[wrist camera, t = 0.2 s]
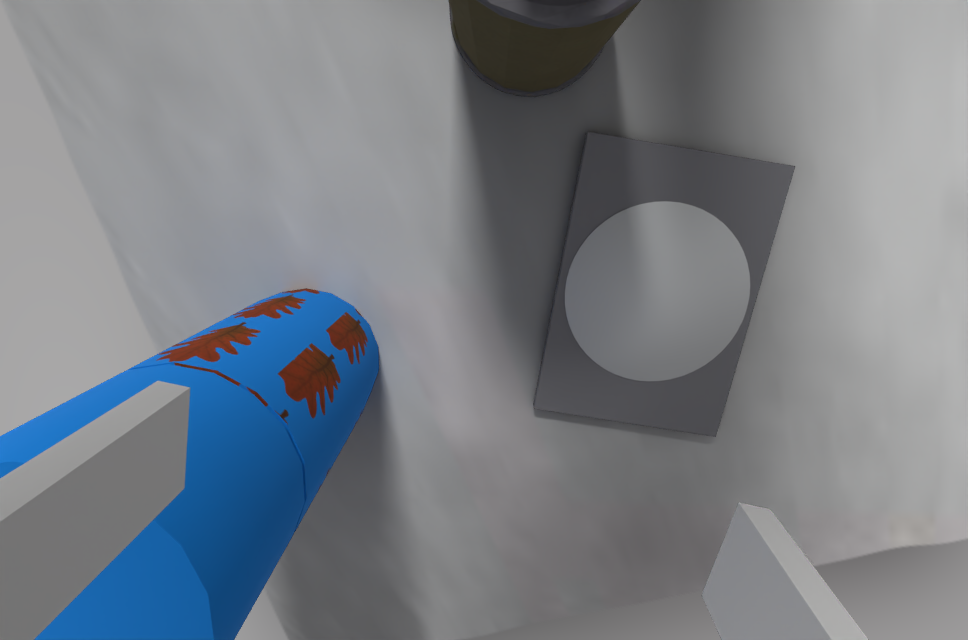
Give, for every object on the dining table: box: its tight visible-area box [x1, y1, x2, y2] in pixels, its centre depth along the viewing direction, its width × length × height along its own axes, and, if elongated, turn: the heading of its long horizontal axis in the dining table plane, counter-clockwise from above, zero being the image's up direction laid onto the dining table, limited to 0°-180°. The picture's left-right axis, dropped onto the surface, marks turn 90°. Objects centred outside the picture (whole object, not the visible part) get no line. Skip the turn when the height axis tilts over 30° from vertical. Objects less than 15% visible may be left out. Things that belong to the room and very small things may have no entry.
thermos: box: [0, 289, 379, 640], centre depth 29 cm, size 11×11×25 cm
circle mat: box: [533, 132, 795, 437], centre depth 39 cm, size 20×14×1 cm
